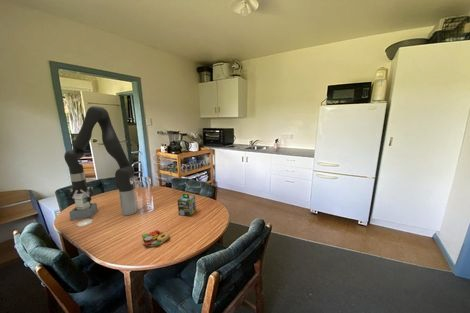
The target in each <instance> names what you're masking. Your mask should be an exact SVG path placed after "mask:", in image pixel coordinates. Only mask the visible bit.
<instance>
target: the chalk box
mask: <svg viewBox="0 0 470 313" xmlns="http://www.w3.org/2000/svg"><path fill="white" fill-rule="evenodd" d="M177 210H178V216H184V217H191V216H192V215H193V214H194V213H196V211H197V204H196V196H195V195H189V194H188V193H182V196H180V197H179V198H178V199H177Z"/></svg>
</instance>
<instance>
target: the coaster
mask: <svg viewBox="0 0 470 313" xmlns="http://www.w3.org/2000/svg"><path fill="white" fill-rule="evenodd" d="M93 222H94V221H93V219H92V218H88V219H81V221H79V222H77V223H76V227H80V228H81V227H86V226H88V225H91V224H92V223H93Z"/></svg>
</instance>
